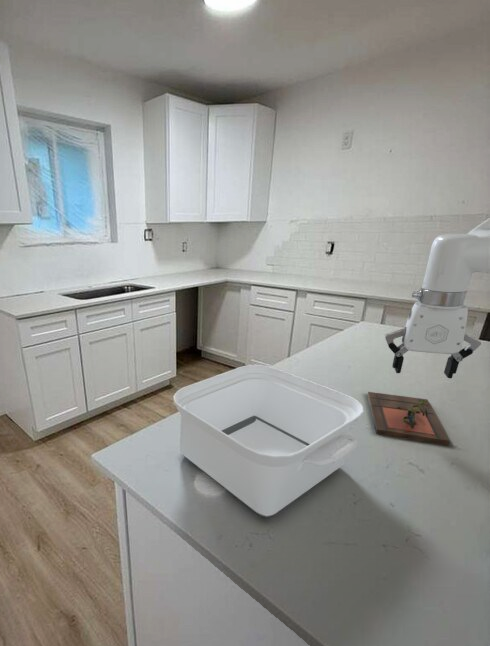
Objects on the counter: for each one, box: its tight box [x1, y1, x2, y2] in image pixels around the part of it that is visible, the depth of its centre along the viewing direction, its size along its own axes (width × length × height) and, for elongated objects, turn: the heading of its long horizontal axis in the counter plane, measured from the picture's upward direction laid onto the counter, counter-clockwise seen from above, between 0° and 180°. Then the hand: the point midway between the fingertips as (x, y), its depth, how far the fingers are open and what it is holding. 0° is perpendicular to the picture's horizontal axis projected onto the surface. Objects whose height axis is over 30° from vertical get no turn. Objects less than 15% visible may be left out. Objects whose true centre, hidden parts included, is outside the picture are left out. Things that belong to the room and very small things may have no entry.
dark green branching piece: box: [398, 400, 428, 429], centre depth 85 cm, size 8×6×6 cm
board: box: [366, 391, 451, 446], centre depth 89 cm, size 14×20×1 cm
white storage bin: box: [172, 364, 365, 518], centre depth 72 cm, size 34×29×15 cm
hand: (421, 373), depth 81 cm, fingers open, 9 cm apart
